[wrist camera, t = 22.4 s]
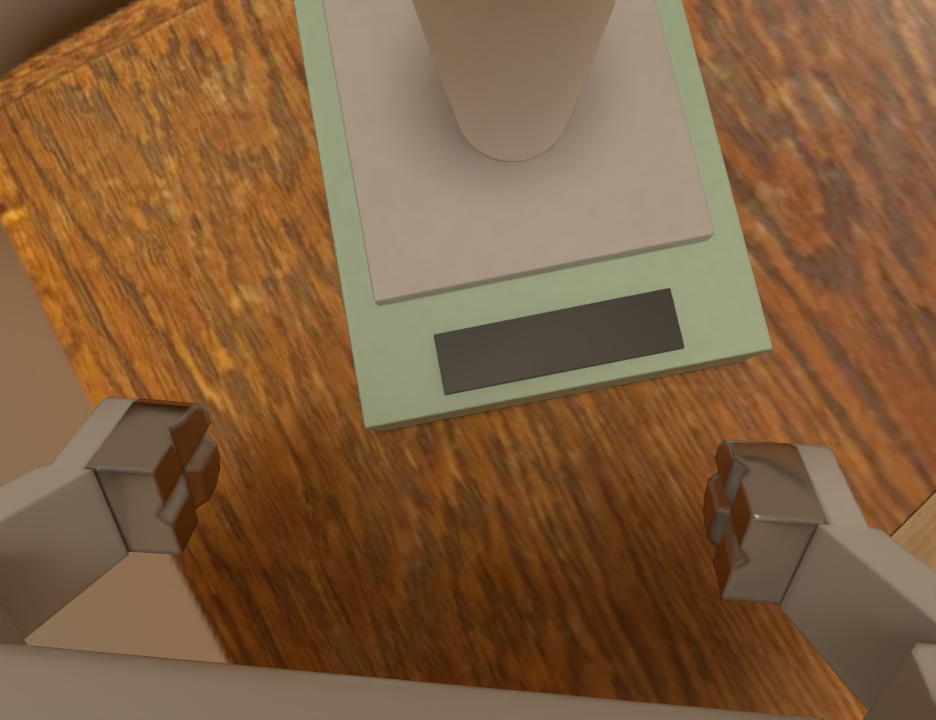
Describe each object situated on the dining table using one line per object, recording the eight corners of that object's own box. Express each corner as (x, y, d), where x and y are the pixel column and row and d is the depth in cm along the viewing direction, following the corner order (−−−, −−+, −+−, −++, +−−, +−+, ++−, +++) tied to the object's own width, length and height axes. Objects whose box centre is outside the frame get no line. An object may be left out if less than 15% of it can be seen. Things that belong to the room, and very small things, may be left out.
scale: (379, 432, 23) (360, 427, 20) (313, 43, 25) (286, -14, 22) (745, 360, 22) (781, 345, 19) (647, -28, 25) (666, -95, 22)
